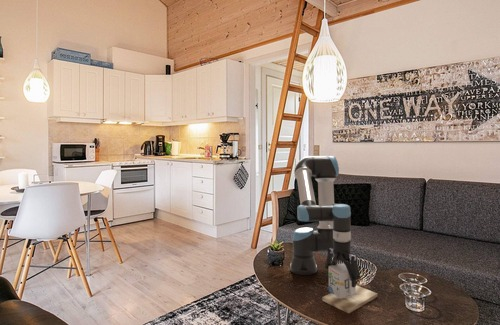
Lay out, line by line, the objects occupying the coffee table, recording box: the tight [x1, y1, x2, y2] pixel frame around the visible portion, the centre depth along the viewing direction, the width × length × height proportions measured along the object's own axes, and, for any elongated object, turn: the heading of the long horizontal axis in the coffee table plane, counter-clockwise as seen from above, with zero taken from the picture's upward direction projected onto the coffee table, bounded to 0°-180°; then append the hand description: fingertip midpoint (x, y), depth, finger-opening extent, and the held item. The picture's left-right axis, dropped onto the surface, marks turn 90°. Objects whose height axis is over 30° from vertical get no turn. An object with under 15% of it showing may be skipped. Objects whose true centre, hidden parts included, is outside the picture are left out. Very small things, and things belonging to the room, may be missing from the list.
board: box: [321, 284, 378, 314], centre depth 141 cm, size 14×22×2 cm, turn 127°
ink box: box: [328, 262, 356, 299], centre depth 137 cm, size 8×8×12 cm
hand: (342, 289), depth 137 cm, fingers closed on ink box, 9 cm apart
